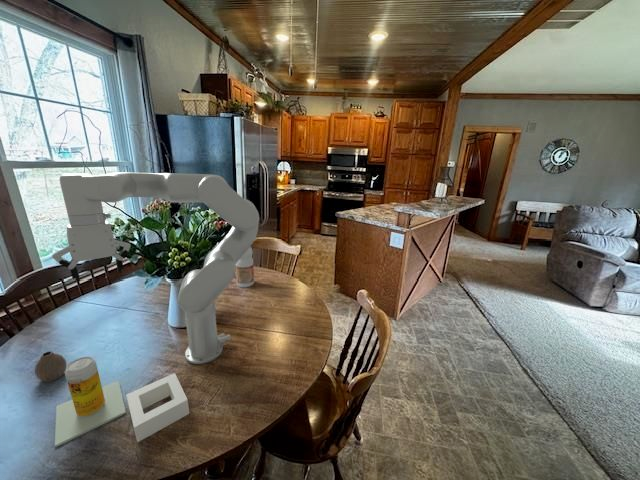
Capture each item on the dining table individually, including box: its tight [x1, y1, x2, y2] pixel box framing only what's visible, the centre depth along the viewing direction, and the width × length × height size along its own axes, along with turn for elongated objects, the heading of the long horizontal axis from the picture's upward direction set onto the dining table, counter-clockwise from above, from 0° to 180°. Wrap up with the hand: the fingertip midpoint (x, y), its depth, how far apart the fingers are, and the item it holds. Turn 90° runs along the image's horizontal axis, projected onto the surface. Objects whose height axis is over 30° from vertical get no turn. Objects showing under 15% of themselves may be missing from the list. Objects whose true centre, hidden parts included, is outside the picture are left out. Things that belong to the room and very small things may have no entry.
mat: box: [54, 380, 126, 448], centre depth 74 cm, size 14×14×1 cm
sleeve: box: [125, 372, 190, 443], centre depth 73 cm, size 12×12×5 cm
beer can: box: [64, 356, 105, 417], centre depth 71 cm, size 6×6×15 cm
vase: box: [34, 350, 68, 383], centre depth 83 cm, size 7×7×9 cm
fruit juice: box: [235, 246, 255, 288], centre depth 146 cm, size 9×9×28 cm
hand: (99, 275), depth 79 cm, fingers open, 9 cm apart
